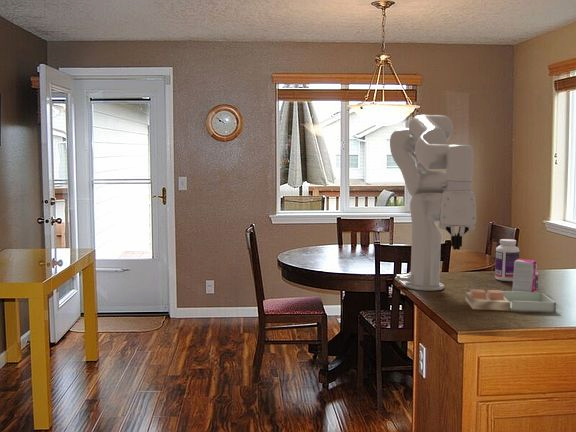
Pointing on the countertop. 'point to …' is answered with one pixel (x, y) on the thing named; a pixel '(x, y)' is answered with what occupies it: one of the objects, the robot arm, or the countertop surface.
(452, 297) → the countertop surface
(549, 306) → the tray
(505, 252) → the pill bottle
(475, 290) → the tile
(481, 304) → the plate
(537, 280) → the pill bottle
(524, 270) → the supplement box
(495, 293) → the tile
